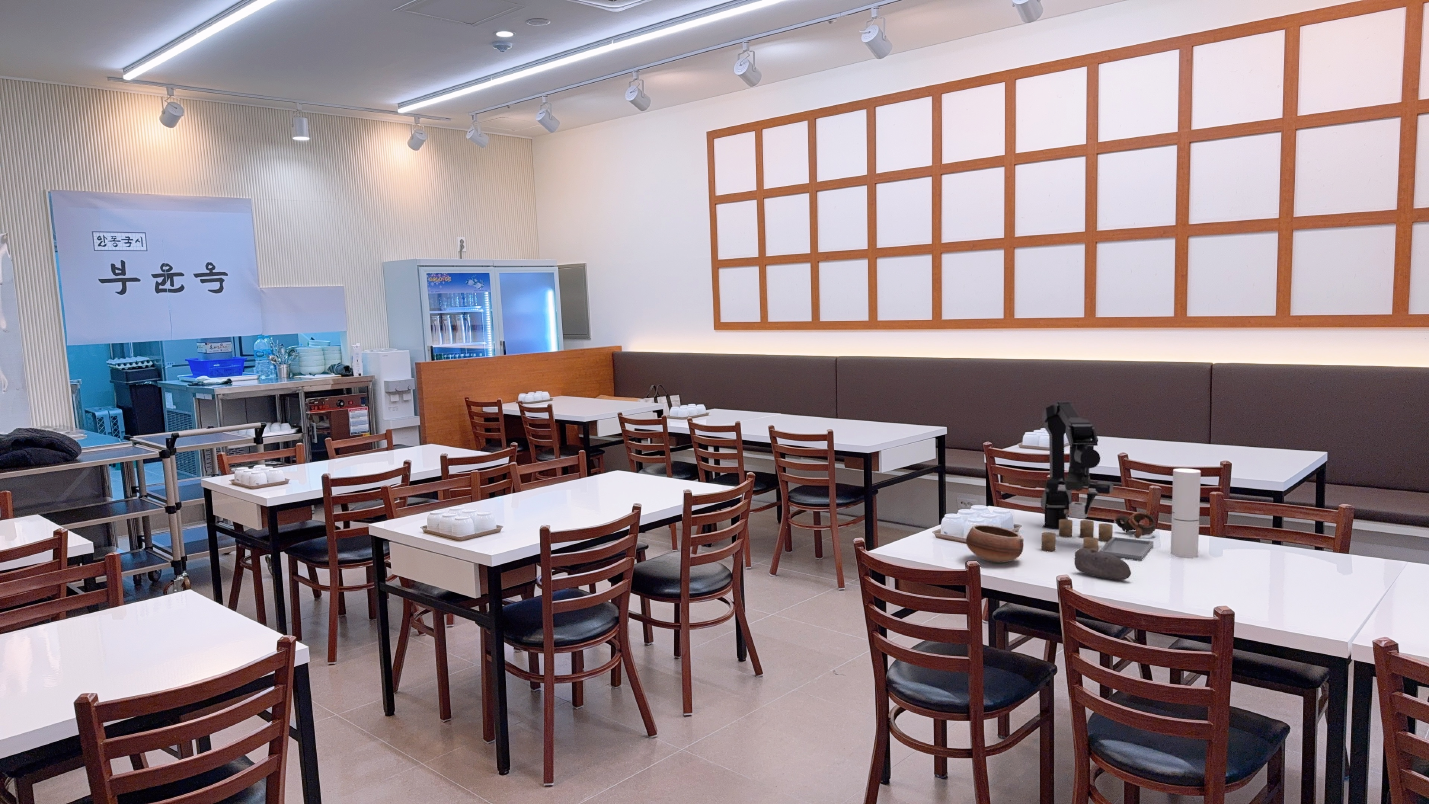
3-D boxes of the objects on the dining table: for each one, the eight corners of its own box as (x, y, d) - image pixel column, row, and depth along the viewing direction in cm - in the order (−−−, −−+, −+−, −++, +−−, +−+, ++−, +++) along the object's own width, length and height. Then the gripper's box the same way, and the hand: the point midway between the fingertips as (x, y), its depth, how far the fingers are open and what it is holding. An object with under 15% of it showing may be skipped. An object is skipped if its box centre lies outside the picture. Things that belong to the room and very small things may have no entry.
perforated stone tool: (1135, 581, 246) (1135, 555, 246) (1125, 585, 243) (1126, 559, 242) (1082, 570, 258) (1082, 545, 257) (1072, 573, 255) (1072, 548, 254)
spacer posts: (1039, 550, 279) (1040, 534, 278) (1062, 532, 301) (1062, 517, 300) (1095, 557, 270) (1096, 540, 269) (1114, 538, 292) (1115, 523, 291)
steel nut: (1068, 517, 283) (1069, 503, 283) (1072, 514, 287) (1072, 501, 286) (1084, 518, 281) (1084, 505, 280) (1087, 516, 284) (1087, 502, 284)
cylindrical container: (1191, 551, 275) (1194, 468, 272) (1202, 557, 268) (1204, 472, 265) (1166, 551, 276) (1169, 468, 273) (1176, 557, 268) (1178, 472, 266)
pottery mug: (1152, 533, 300) (1159, 514, 295) (1149, 552, 293) (1156, 533, 288) (1113, 521, 304) (1120, 502, 299) (1109, 539, 297) (1116, 520, 292)
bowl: (1029, 568, 260) (1030, 533, 259) (973, 569, 261) (974, 534, 260) (1013, 553, 276) (1013, 521, 275) (960, 554, 276) (960, 521, 275)
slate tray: (1098, 555, 272) (1098, 550, 272) (1112, 541, 288) (1112, 536, 288) (1141, 561, 265) (1141, 556, 265) (1153, 546, 282) (1153, 541, 281)
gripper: (1040, 464, 281) (1039, 514, 282) (1106, 469, 270) (1105, 521, 272) (1050, 459, 290) (1049, 508, 291) (1114, 463, 279) (1112, 514, 281)
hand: (1078, 513), depth 284 cm, fingers closed on steel nut, 4 cm apart
